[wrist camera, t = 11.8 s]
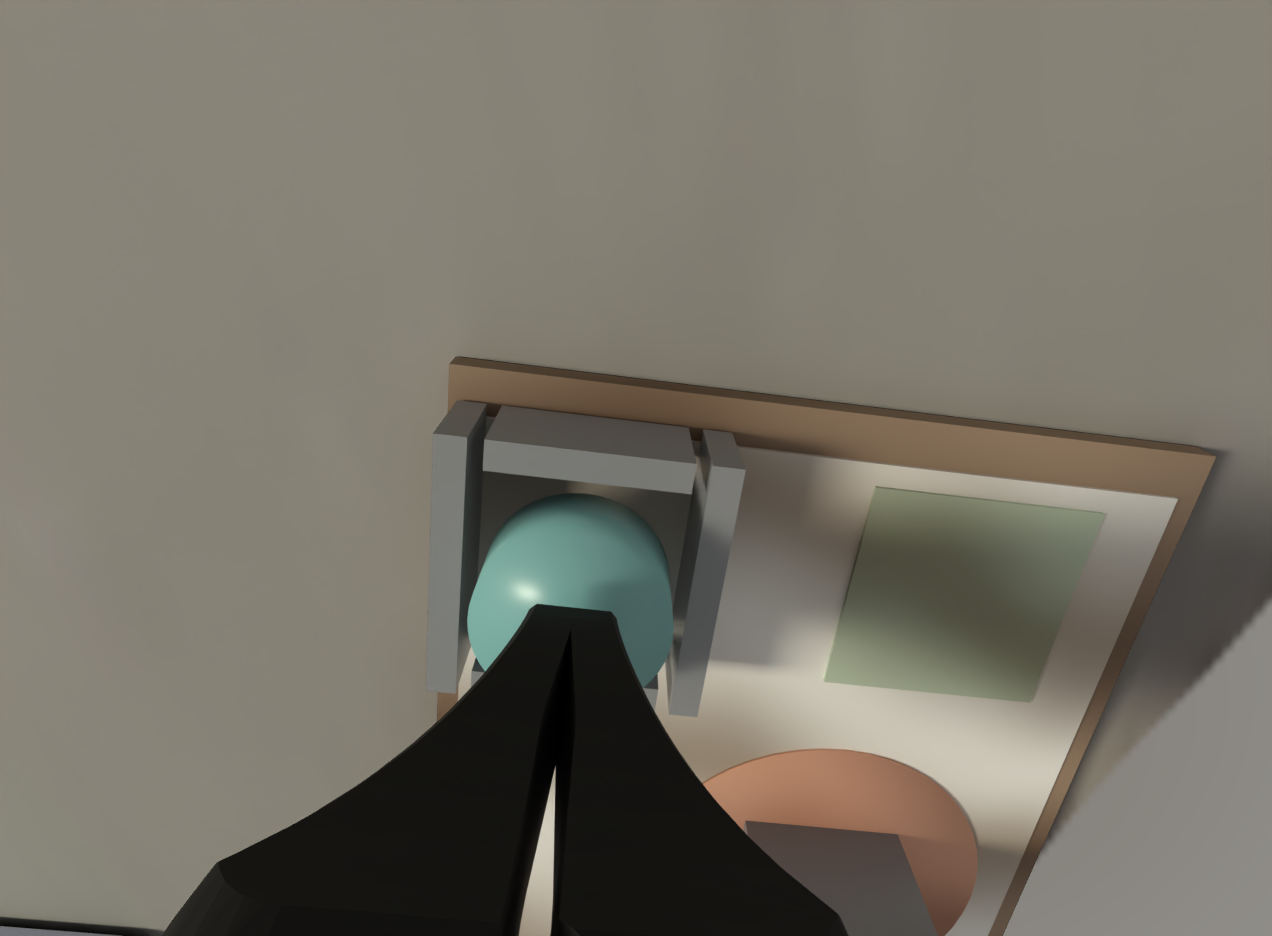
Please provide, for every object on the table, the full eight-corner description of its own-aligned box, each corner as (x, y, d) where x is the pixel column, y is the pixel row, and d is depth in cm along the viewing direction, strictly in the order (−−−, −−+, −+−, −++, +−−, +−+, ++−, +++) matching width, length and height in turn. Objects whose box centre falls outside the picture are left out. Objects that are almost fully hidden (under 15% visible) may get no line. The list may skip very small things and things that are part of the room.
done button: (655, 661, 16) (658, 720, 14) (480, 643, 15) (462, 702, 14) (681, 503, 14) (688, 549, 13) (490, 482, 14) (471, 525, 12)
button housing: (689, 658, 18) (697, 717, 16) (448, 634, 17) (425, 690, 15) (732, 432, 15) (745, 469, 14) (457, 400, 15) (432, 433, 13)
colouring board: (941, 1035, 24) (951, 1063, 23) (431, 996, 23) (424, 1024, 22) (1196, 446, 16) (1223, 460, 16) (456, 356, 16) (447, 366, 15)
